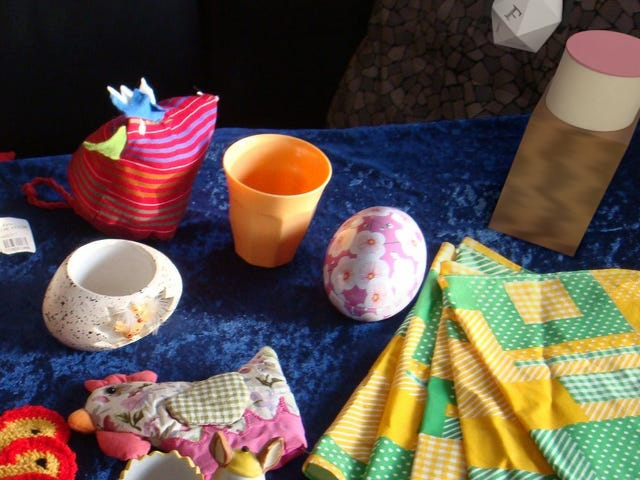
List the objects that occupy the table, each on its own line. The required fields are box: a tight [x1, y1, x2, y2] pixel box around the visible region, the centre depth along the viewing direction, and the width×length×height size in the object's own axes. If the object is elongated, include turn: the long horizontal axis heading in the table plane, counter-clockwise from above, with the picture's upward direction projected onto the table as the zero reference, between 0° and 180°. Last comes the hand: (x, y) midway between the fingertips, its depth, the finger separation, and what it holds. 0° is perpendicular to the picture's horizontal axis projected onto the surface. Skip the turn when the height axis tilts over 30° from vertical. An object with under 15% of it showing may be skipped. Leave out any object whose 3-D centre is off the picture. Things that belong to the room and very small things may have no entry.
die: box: [491, 0, 563, 53], centre depth 104 cm, size 8×9×10 cm
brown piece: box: [487, 75, 640, 257], centre depth 105 cm, size 11×11×17 cm
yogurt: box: [546, 29, 640, 131], centre depth 97 cm, size 10×10×7 cm
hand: (523, 24), depth 103 cm, fingers closed on die, 8 cm apart
